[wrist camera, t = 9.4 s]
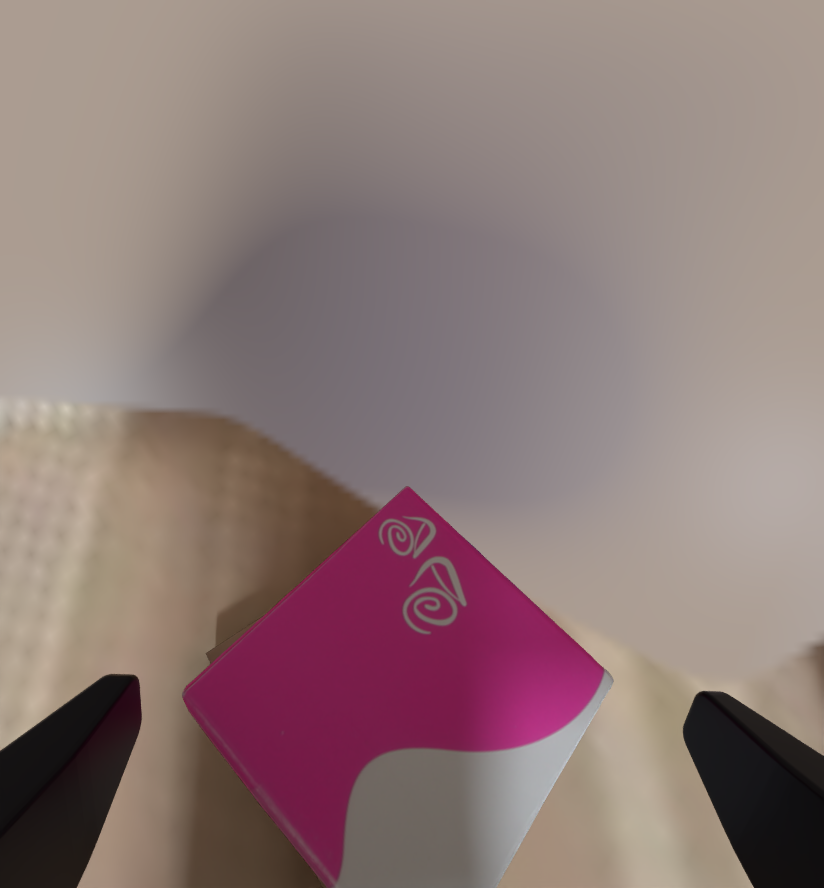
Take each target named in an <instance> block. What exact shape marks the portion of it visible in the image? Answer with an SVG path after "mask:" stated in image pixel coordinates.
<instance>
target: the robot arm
mask: <svg viewBox="0 0 824 888" xmlns="http://www.w3.org/2000/svg"><path fill="white" fill-rule="evenodd" d="M141 720H142V713H141V698H140V683H139V679H138V677H137V676H135V675H130V674H109V675H106V676H104V677H102V678H100V679H99V680H97V681H96V682H95V683H93V684H92V685H91V686H89V687H88V688H86V689H85V690H84V691H82V692H81V693H80V694H78V695H77V696H75V697H74V698H73V699H71V700H70V701H68V702H67V703H66V704H64V705H63V706H62V707H60V708H59V709H57V710H56V711H55V712H53V713H52V714H51V715H49V716H48V717H46V718H45V719H44V720H42V721H41V722H39V723H38V724H37V725H35V726H34V727H33V728H31V729H30V730H28V731H27V732H26V733H24V734H23V735H21V736H20V737H19V738H17V739H16V740H15V741H13V742H12V743H10V744H9V745H8V746H6V747H5V748H4V749H2V750H1V751H0V888H77V886H78V884H79V882H80V880H81V877H82V875H83V873H84V871H85V869H86V867H87V864H88V862H89V860H90V858H91V855H92V853H93V850H94V848H95V845H96V843H97V840H98V838H99V835H100V833H101V830H102V827H103V825H104V822H105V820H106V817H107V815H108V812H109V809H110V807H111V804H112V802H113V799H114V796H115V794H116V791H117V789H118V786H119V783H120V781H121V778H122V776H123V773H124V770H125V768H126V765H127V763H128V760H129V757H130V755H131V752H132V750H133V747H134V745H135V742H136V739H137V737H138V734H139V730H140V726H141ZM683 737H684V741H685V744H686V746H687V748H688V750H689V753H690V755H691V757H692V759H693V762H694V764H695V766H696V768H697V770H698V773H699V775H700V777H701V779H702V781H703V784H704V786H705V788H706V790H707V793H708V795H709V797H710V799H711V801H712V804H713V806H714V808H715V810H716V813H717V815H718V817H719V819H720V821H721V824H722V826H723V828H724V830H725V832H726V835H727V837H728V839H729V841H730V843H731V845H732V847H733V849H734V851H735V853H736V855H737V857H738V859H739V861H740V863H741V865H742V867H743V869H744V870H745V872H746V874H747V876H748V878H749V880H750V882H751V883H752V885H753V887H754V888H824V756H823V755H821V754H820V753H818V752H817V751H815V750H813V749H812V748H810V747H809V746H807V745H806V744H804V743H803V742H801V741H800V740H798V739H796V738H795V737H793V736H792V735H790V734H789V733H787V732H786V731H784V730H783V729H781V728H779V727H778V726H776V725H775V724H773V723H772V722H770V721H769V720H767V719H765V718H764V717H762V716H761V715H759V714H758V713H756V712H755V711H753V710H752V709H750V708H748V707H747V706H745V705H744V704H742V703H741V702H739V701H738V700H736V699H735V698H733V697H731V696H730V695H728V694H726V693H724V692H716V691H701V692H699V693H698V694H697V695H696V696H695V698H694V700H693V703H692V705H691V708H690V710H689V713H688V715H687V718H686V720H685V723H684V726H683Z"/></svg>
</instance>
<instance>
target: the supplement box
mask: <svg viewBox="0 0 824 888" xmlns="http://www.w3.org/2000/svg"><path fill="white" fill-rule="evenodd" d="M613 681H614V680H613V678H612V676H611V675H610V673H609V672H608V671H607V670H606V669H604V668H603V667H602V666H601V665H600V664H599V663H597V662H596V661H595V660H594V659H593V657H592V656H591V655H590V654H588V653H587V652H586V651H585V650H584V649H583V648H582V647H581V646H580V645H579V644H578V643H577V642H576V641H574V640H573V639H572V638H571V637H570V636H569V635H568V634H567V633H566V632H565V631H564V630H563V629H561V628H560V627H559V626H558V625H557V624H556V623H555V622H554V621H553V620H552V619H551V618H549V617H548V616H547V615H546V614H545V613H544V612H543V611H542V610H541V609H540V608H539V607H538V606H537V605H536V604H534V603H533V602H532V601H531V600H530V599H529V598H528V597H527V596H526V595H525V594H524V593H523V592H522V591H521V590H519V589H518V588H517V587H516V586H515V585H514V584H513V583H512V582H511V581H510V580H509V579H508V578H506V577H505V576H504V575H503V574H502V573H501V572H500V571H499V570H498V569H497V568H496V567H495V566H493V565H492V564H491V563H490V562H489V561H488V560H487V559H486V558H485V557H484V556H483V555H482V554H481V553H480V552H479V551H478V550H476V548H474V547H473V546H472V545H471V544H470V543H469V542H468V541H467V540H465V538H463V537H462V536H461V535H460V534H459V533H458V532H457V531H456V530H455V529H454V528H453V527H452V526H450V524H449V523H448V522H446V521H445V520H444V519H443V518H442V517H441V516H440V515H439V514H438V513H436V512H435V511H434V510H433V509H432V508H431V507H430V506H429V505H428V504H427V503H425V501H424V500H423V499H421V498H420V497H419V496H418V495H417V494H416V493H415V492H414V491H413V490H412V489H411V488H410V487H408V486H406V487H405V488H404V489H403V490H401V491H400V492H399V493H398V494H397V495H396V496H395V497H394V498H393V499H392V500H391V501H390V502H388V503H387V504H386V505H385V506H384V507H383V508H382V509H381V510H380V511H379V512H378V513H376V514H375V515H374V516H373V517H372V518H371V519H370V520H369V521H368V522H367V523H365V524H364V525H363V526H362V527H361V528H360V529H359V530H358V531H357V532H356V533H355V534H353V535H352V536H351V537H350V538H349V539H348V540H347V541H346V542H345V543H344V544H342V545H341V546H340V547H339V548H338V549H337V550H336V551H335V552H334V553H332V554H331V555H330V556H329V557H328V558H327V559H326V560H325V561H323V562H322V563H321V564H320V565H319V566H318V567H317V568H316V569H315V570H314V571H313V572H312V573H310V574H309V575H308V576H307V577H306V578H305V579H304V580H303V581H302V582H301V583H300V584H299V585H297V586H296V587H295V588H294V589H293V590H292V591H290V592H289V593H288V594H287V595H286V596H285V597H284V598H283V599H282V600H280V601H279V602H278V603H277V604H276V605H275V606H274V607H273V608H272V609H271V610H270V611H269V612H268V613H267V614H265V615H264V616H263V617H262V618H261V619H260V620H258V621H257V622H256V623H255V624H254V625H253V626H252V627H251V628H250V629H249V630H248V631H246V632H245V633H244V634H243V635H242V636H241V637H240V638H239V639H238V640H237V641H236V642H234V643H233V644H232V645H231V646H230V647H229V648H228V649H227V650H225V651H224V652H223V653H222V654H221V655H220V656H219V657H218V658H217V659H216V660H215V661H214V662H213V663H211V664H210V665H209V666H208V667H207V668H206V669H205V670H204V671H203V672H202V673H201V674H199V675H198V676H197V677H196V678H195V679H194V680H193V681H192V682H191V683H189V684H188V685H187V686H186V687H185V689H184V691H183V692H182V697H183V700H184V702H185V704H186V706H187V708H188V711H189V712H190V713H191V715H192V716H193V717H194V719H195V720H196V722H197V723H198V724H199V726H200V727H201V728H202V730H203V731H204V732H205V734H206V735H207V736H208V738H209V739H210V740H211V742H212V743H213V744H214V746H215V747H216V748H217V749H218V751H219V752H220V753H221V755H222V756H223V757H224V758H225V760H226V761H227V762H228V764H229V765H230V766H231V767H232V769H233V770H234V771H235V773H236V774H237V775H238V777H239V778H240V779H241V780H242V782H243V783H244V784H245V786H246V787H247V788H248V789H249V791H250V792H251V793H252V795H253V796H254V797H255V799H256V800H257V801H258V803H259V804H260V805H261V807H262V808H263V809H264V810H265V812H266V813H267V814H268V815H269V816H270V818H271V819H272V820H273V821H274V822H275V824H276V825H277V826H278V827H279V829H280V830H281V831H282V832H283V834H284V835H285V836H286V837H287V839H288V840H289V841H290V842H291V844H292V845H293V846H294V847H295V849H296V850H297V851H298V852H299V854H300V855H301V856H302V857H303V859H304V860H305V861H306V862H307V864H308V865H309V866H310V867H311V869H312V870H313V871H314V872H315V874H316V875H317V876H318V877H319V878H320V880H321V881H322V882H323V883H324V884H325V886H326V887H327V888H496V887H497V885H498V883H499V882H500V880H501V878H502V876H503V874H504V873H505V871H506V869H507V867H508V866H509V864H510V862H511V860H512V858H513V857H514V855H515V853H516V851H517V850H518V848H519V846H520V844H521V842H522V841H523V839H524V837H525V835H526V834H527V832H528V830H529V828H530V826H531V825H532V823H533V821H534V819H535V817H536V816H537V814H538V812H539V810H540V808H541V807H542V805H543V803H544V801H545V799H546V797H547V796H548V794H549V792H550V791H551V789H552V787H553V785H554V784H555V782H556V780H557V779H558V777H559V775H560V773H561V772H562V770H563V768H564V766H565V765H566V763H567V761H568V760H569V758H570V756H571V755H572V753H573V751H574V750H575V748H576V746H577V744H578V743H579V741H580V739H581V738H582V736H583V734H584V732H585V731H586V729H587V727H588V725H589V724H590V722H591V720H592V719H593V717H594V715H595V714H596V712H597V710H598V709H599V707H600V705H601V703H602V701H603V699H604V698H605V696H606V694H607V693H608V691H609V690H610V688H611V686H612V684H613Z"/></svg>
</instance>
